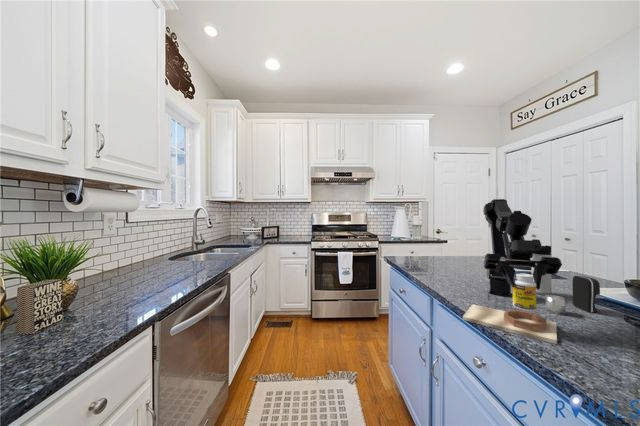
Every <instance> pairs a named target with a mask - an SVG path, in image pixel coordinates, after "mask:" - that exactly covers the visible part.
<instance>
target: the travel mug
mask: <svg viewBox="0 0 640 426" xmlns="http://www.w3.org/2000/svg"><path fill="white" fill-rule="evenodd" d="M541 246H542V249H541V250H539V251H534V252H532V254H533V257H532V258H531V261H540V260H541V258H542V257H552V246H551V245H541ZM533 272H534V268H533V267H531V275H532V276H533ZM533 282H534V278H533ZM536 295H537V296H538V295H539V296H544V297H546V295H552V274H545V275H544V276H542V278H541V284H540V289H539V290H537V289H536Z"/></svg>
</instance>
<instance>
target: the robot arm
mask: <svg viewBox="0 0 640 426" xmlns="http://www.w3.org/2000/svg"><path fill="white" fill-rule="evenodd" d="M483 215H484V217H485V221H486V222H487V223H488V224H489V226H490V227H489V228H490V237H491V246H492V247H491V248H492V253H486V254H485V255H484V260H483V266H484V269H485V270H486V277H487V279H488V280H489V292H488V294H491V295H495V296H500V297H501V296H502V297H507V298H508V297H509V296H510V295H511V293H512V288H513V287H514V286H515V284H514V280H515V274H516V269H515V267H523V268H532V267H533V268H534V272H533V278H534V282H535V283H536V285H537V290H539V289H540V284H541V278H542V276H544V275H545V274H551V275H556V274H558V272H559V271H560V269H561V267H562V266H563V262H562V260H561V259H560V258H559V257H556V256H555V257H554V256H551V257H542V258H541V260H540V261H532V257H533V254H532V252H534V251H539V250H541V249H542V246H543V245H542V243H541V240H540V239H536V238H535V239H534V238H533V239H531V240H529V239H528V240H526V239H525V236H527V233H528V231H529V229H530V227H531V223H532V220H533V219H532V217H530V215H528V214H526V213H523V212H522V211H521V210H513V211H512V209H511V208H510V206H509V204H508V200H507V199H504V198H498V199H497V198H496V199H491V201H490V202H488V203H485V204H484V206H483Z"/></svg>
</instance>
